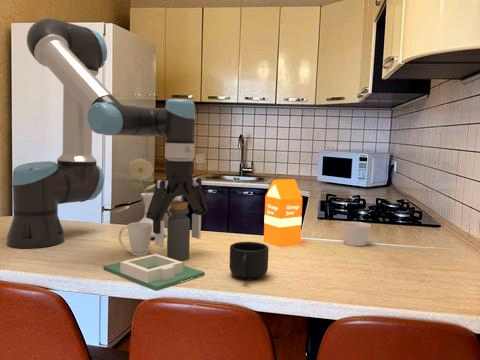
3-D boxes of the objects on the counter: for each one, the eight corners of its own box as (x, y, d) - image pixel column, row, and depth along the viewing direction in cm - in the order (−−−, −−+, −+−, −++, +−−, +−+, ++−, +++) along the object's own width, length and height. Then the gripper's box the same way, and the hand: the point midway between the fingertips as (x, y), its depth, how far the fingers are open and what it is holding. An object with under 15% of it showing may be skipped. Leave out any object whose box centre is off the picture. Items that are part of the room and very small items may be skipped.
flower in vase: (171, 234, 139) (172, 158, 137) (157, 242, 128) (158, 160, 125) (135, 231, 142) (136, 157, 139) (118, 238, 131) (118, 158, 128)
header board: (103, 269, 100) (103, 255, 100) (151, 257, 111) (151, 245, 110) (156, 290, 87) (156, 275, 87) (204, 275, 98) (204, 261, 97)
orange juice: (300, 243, 131) (303, 180, 129) (279, 247, 126) (281, 180, 124) (284, 238, 138) (287, 177, 136) (263, 241, 133) (265, 178, 131)
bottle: (162, 257, 111) (163, 201, 110) (179, 253, 115) (180, 199, 114) (176, 262, 107) (177, 204, 106) (193, 258, 111) (194, 202, 110)
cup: (145, 258, 110) (145, 227, 110) (112, 254, 113) (112, 224, 112) (157, 251, 117) (158, 223, 116) (125, 248, 120) (126, 220, 119)
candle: (358, 239, 139) (359, 221, 138) (375, 246, 130) (377, 226, 130) (335, 241, 136) (336, 222, 135) (350, 248, 127) (351, 227, 127)
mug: (233, 268, 104) (234, 240, 103) (269, 271, 102) (270, 243, 101) (222, 284, 92) (223, 252, 91) (263, 288, 90) (264, 256, 90)
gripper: (150, 161, 97) (150, 252, 99) (222, 159, 115) (220, 236, 117) (131, 159, 102) (131, 246, 104) (203, 158, 120) (201, 232, 122)
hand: (178, 241), depth 111 cm, fingers open, 12 cm apart
